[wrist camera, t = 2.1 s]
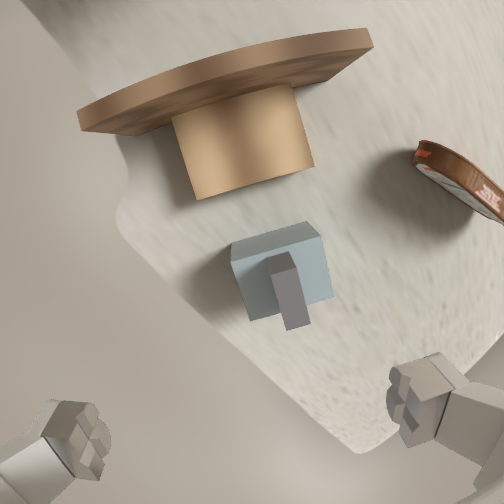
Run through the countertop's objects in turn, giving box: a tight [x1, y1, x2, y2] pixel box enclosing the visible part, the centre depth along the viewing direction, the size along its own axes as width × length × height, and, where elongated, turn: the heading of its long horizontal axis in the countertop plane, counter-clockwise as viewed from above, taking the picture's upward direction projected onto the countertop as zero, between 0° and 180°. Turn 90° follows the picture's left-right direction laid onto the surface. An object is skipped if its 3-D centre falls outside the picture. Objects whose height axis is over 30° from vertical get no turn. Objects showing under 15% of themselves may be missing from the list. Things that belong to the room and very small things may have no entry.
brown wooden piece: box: [77, 28, 374, 201], centre depth 24 cm, size 20×10×12 cm, turn 106°
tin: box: [412, 140, 504, 226], centre depth 28 cm, size 15×3×8 cm, turn 67°
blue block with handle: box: [230, 221, 334, 331], centre depth 29 cm, size 8×6×10 cm
